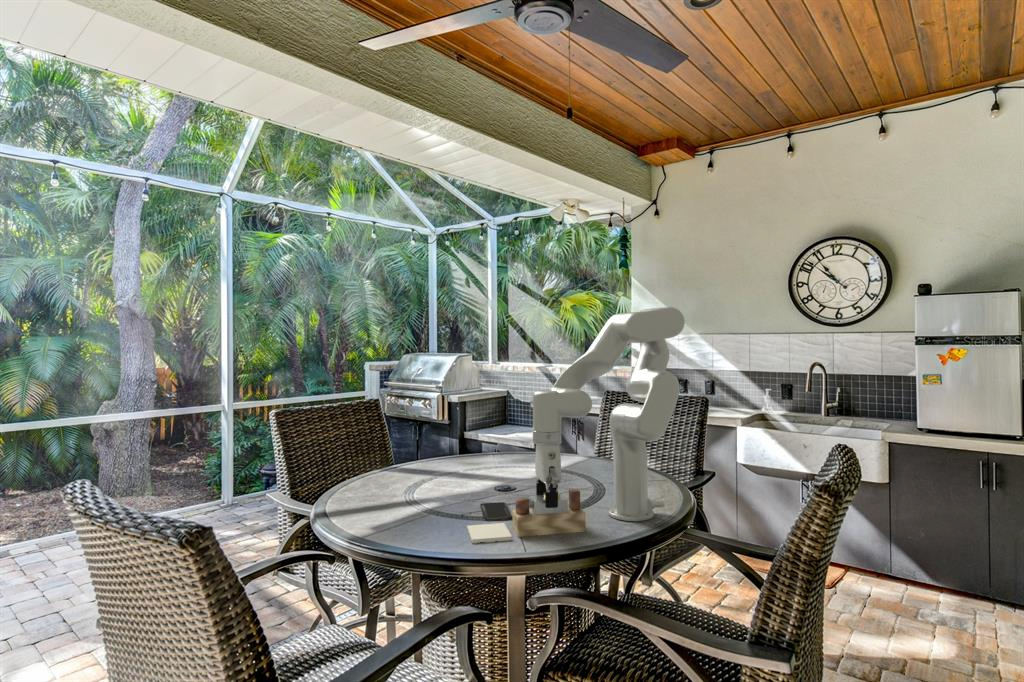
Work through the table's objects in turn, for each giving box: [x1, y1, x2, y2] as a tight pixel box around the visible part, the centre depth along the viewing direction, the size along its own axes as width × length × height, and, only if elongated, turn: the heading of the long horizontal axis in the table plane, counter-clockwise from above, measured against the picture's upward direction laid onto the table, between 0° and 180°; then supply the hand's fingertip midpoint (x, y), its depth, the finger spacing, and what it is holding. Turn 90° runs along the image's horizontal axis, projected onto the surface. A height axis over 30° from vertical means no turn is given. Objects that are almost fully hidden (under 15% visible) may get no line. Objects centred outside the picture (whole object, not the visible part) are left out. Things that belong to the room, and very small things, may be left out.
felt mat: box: [466, 522, 513, 544], centre depth 149 cm, size 10×11×1 cm
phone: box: [479, 501, 513, 521], centre depth 169 cm, size 8×1×15 cm
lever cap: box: [528, 492, 569, 515], centre depth 152 cm, size 9×6×4 cm, turn 101°
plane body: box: [511, 488, 587, 538], centre depth 152 cm, size 18×7×10 cm, turn 101°
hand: (546, 502), depth 152 cm, fingers open, 9 cm apart
